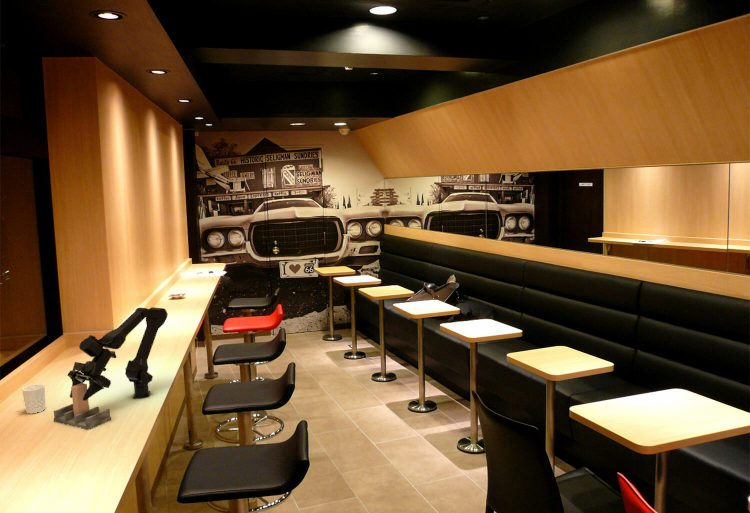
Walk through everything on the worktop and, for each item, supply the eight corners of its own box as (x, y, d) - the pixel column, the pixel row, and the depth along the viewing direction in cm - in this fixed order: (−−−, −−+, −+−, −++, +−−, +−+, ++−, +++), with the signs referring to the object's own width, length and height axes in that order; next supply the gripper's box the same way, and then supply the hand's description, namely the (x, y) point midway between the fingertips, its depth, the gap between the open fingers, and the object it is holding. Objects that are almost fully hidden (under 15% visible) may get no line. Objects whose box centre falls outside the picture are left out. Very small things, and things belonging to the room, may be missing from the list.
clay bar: (84, 414, 238) (81, 382, 236) (89, 416, 236) (86, 384, 235) (74, 419, 234) (71, 386, 232) (79, 420, 232) (76, 387, 231)
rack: (76, 411, 244) (75, 402, 244) (111, 419, 235) (110, 409, 235) (53, 421, 235) (52, 410, 235) (88, 429, 226) (87, 419, 226)
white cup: (22, 415, 242) (19, 391, 241) (27, 408, 249) (25, 385, 248) (44, 413, 244) (41, 389, 243) (49, 406, 252) (46, 383, 250)
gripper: (69, 350, 239) (46, 386, 231) (101, 355, 231) (78, 393, 223) (88, 363, 247) (66, 398, 239) (120, 369, 239) (99, 405, 231)
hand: (77, 398), depth 233 cm, fingers open, 7 cm apart
